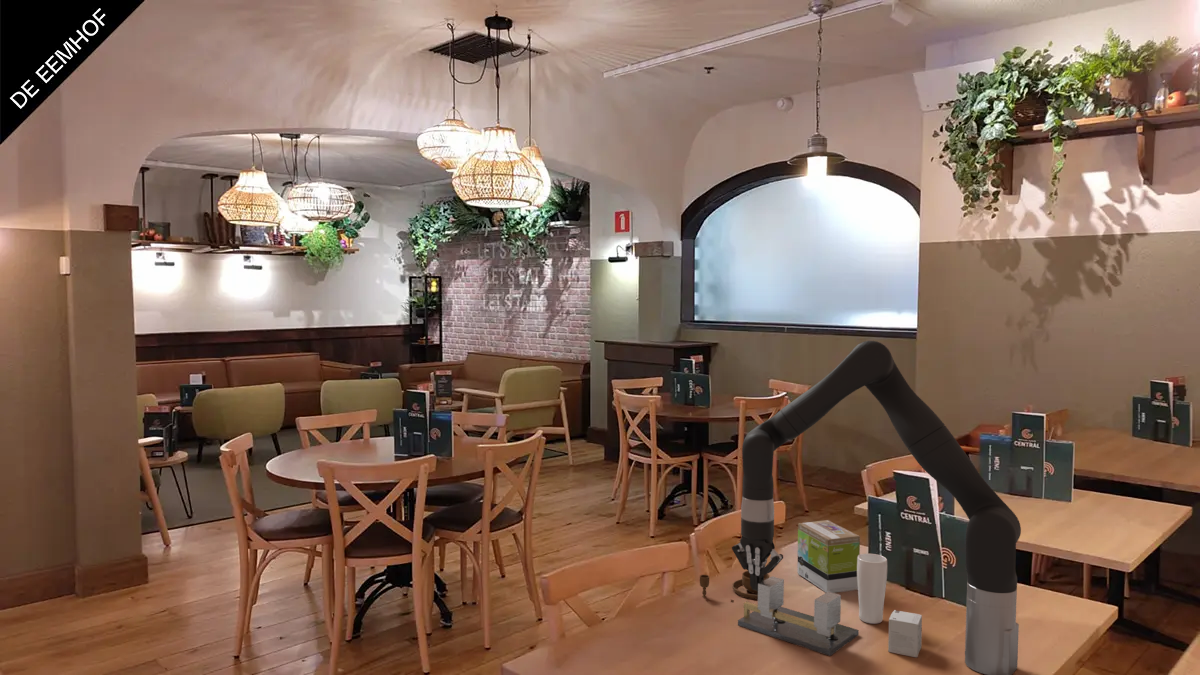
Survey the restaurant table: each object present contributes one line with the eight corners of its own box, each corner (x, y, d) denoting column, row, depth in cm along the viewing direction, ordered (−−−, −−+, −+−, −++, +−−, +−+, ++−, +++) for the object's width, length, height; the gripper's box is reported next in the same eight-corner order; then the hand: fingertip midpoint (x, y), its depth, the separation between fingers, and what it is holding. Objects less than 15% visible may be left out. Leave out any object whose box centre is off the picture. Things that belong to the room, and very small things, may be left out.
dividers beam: (839, 639, 174) (840, 595, 174) (826, 648, 170) (827, 603, 169) (753, 611, 189) (753, 571, 189) (738, 619, 185) (739, 578, 184)
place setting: (779, 608, 196) (779, 585, 195) (697, 601, 200) (698, 578, 200) (778, 583, 213) (779, 561, 213) (704, 577, 217) (704, 556, 217)
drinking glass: (887, 627, 184) (889, 563, 183) (857, 624, 185) (858, 561, 184) (883, 615, 190) (885, 554, 189) (854, 613, 192) (855, 552, 191)
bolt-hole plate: (858, 635, 179) (858, 629, 179) (830, 655, 169) (830, 650, 169) (768, 607, 195) (769, 602, 195) (737, 625, 184) (737, 620, 184)
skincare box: (917, 658, 168) (918, 624, 168) (887, 652, 171) (888, 618, 171) (921, 647, 173) (922, 614, 173) (892, 641, 176) (893, 609, 176)
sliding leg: (783, 619, 184) (783, 579, 183) (769, 628, 179) (769, 586, 179) (771, 615, 186) (772, 576, 185) (757, 624, 181) (758, 583, 181)
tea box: (795, 574, 218) (796, 521, 217) (827, 571, 221) (828, 518, 220) (827, 594, 204) (828, 538, 203) (860, 590, 207) (861, 534, 206)
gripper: (791, 518, 182) (790, 592, 183) (741, 507, 191) (741, 578, 192) (774, 525, 177) (773, 601, 177) (724, 514, 185) (723, 586, 186)
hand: (756, 589), depth 185 cm, fingers closed
